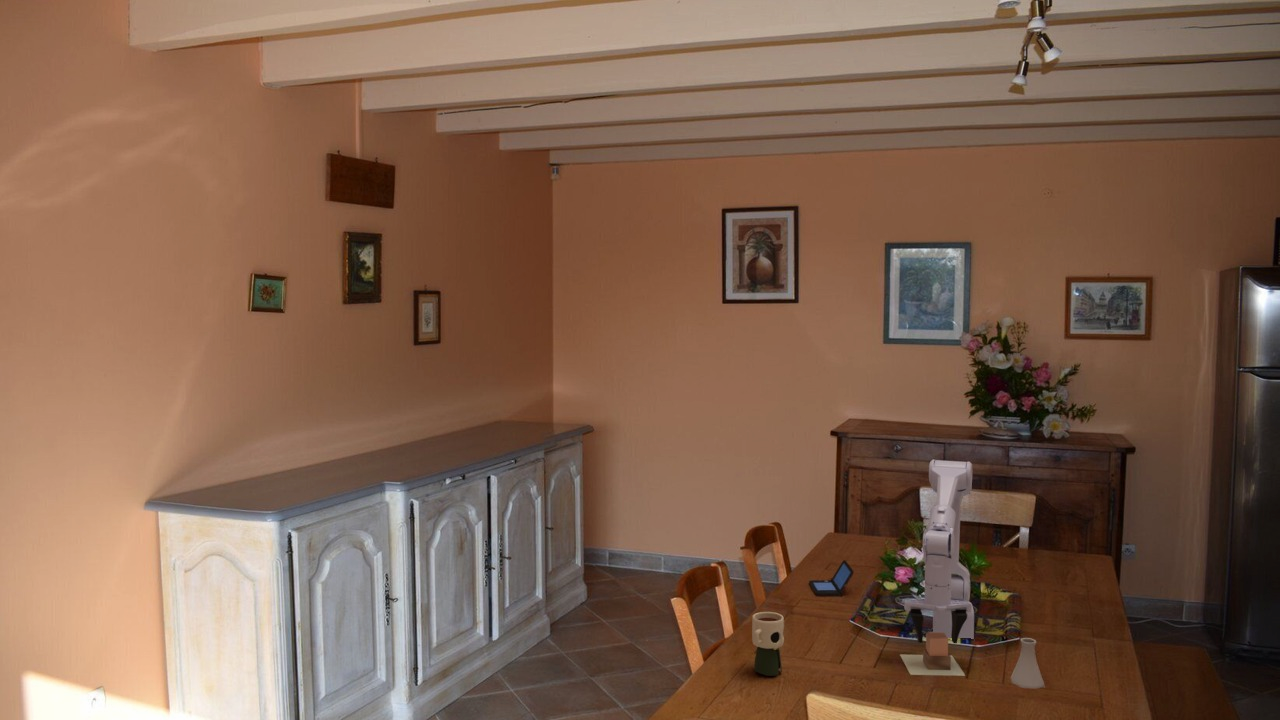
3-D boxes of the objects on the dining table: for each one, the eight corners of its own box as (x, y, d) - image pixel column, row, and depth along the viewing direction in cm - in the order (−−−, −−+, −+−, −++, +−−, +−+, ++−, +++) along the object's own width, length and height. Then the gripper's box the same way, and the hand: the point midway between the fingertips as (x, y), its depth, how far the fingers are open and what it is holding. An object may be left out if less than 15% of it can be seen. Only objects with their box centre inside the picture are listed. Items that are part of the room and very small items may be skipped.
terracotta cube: (943, 649, 225) (943, 632, 225) (947, 656, 221) (948, 638, 221) (925, 649, 226) (926, 632, 225) (929, 655, 222) (930, 638, 221)
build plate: (951, 657, 230) (951, 655, 230) (965, 678, 218) (965, 675, 218) (899, 656, 231) (899, 654, 231) (910, 677, 219) (910, 674, 219)
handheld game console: (808, 584, 288) (808, 559, 288) (844, 583, 288) (845, 559, 288) (815, 597, 276) (815, 571, 275) (854, 597, 276) (854, 571, 275)
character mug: (769, 684, 215) (769, 626, 214) (741, 676, 220) (741, 620, 219) (793, 668, 224) (793, 613, 223) (766, 661, 228) (766, 607, 227)
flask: (1003, 679, 217) (1004, 635, 217) (1035, 677, 218) (1036, 633, 217) (1019, 692, 210) (1020, 646, 209) (1051, 691, 211) (1052, 645, 210)
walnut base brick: (945, 661, 226) (945, 648, 226) (950, 670, 221) (950, 657, 221) (923, 661, 226) (923, 648, 226) (927, 669, 221) (928, 656, 221)
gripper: (909, 588, 219) (908, 647, 220) (975, 588, 218) (974, 648, 219) (902, 578, 226) (901, 636, 227) (967, 579, 225) (965, 637, 226)
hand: (937, 641), depth 223 cm, fingers open, 7 cm apart
